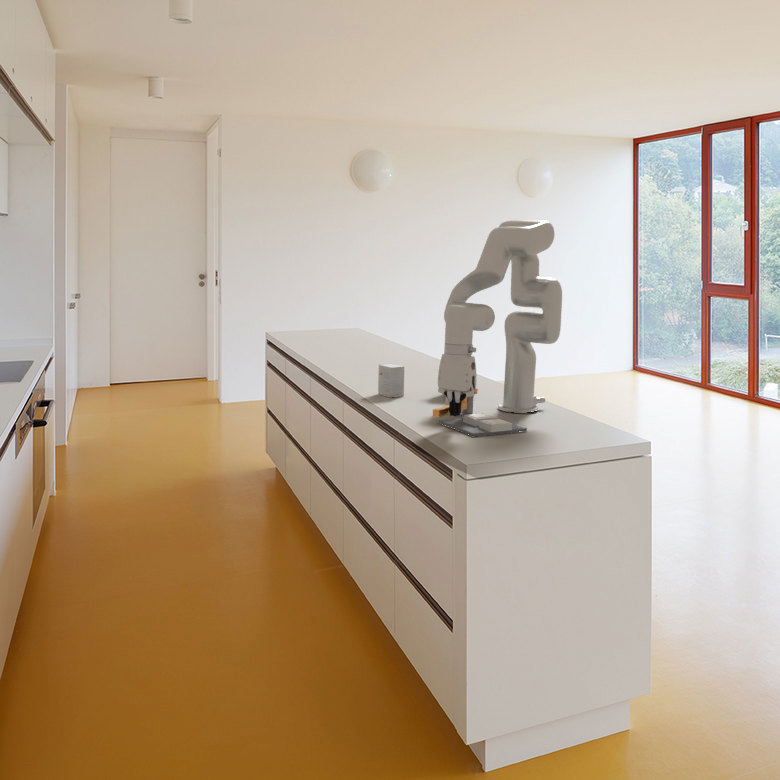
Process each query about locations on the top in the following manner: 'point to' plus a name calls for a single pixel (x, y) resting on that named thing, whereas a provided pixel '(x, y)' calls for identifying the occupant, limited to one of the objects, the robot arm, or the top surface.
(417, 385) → the top surface
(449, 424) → the sled board
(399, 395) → the small box
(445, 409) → the orange crank handle
